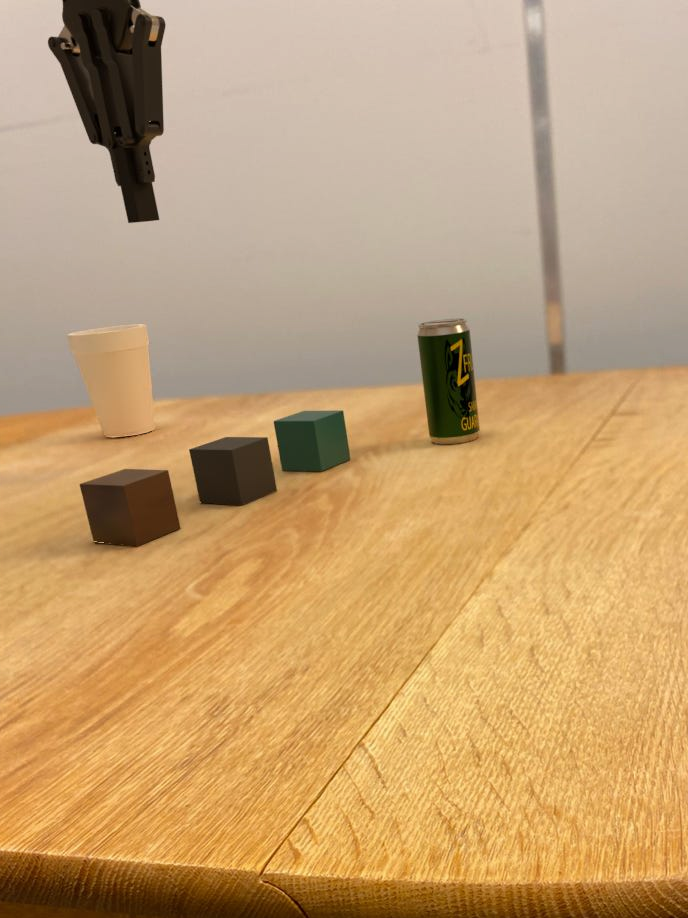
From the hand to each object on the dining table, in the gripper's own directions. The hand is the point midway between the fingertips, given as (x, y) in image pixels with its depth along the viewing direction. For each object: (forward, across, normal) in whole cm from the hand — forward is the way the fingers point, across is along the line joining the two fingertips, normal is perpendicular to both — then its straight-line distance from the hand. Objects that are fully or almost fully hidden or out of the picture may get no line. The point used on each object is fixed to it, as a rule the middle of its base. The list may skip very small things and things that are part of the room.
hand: (144, 221), depth 103 cm
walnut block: (+24, +14, -22) cm, 36 cm away
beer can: (+25, +24, +14) cm, 37 cm away
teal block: (+24, +15, +2) cm, 29 cm away
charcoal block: (+24, +15, -10) cm, 30 cm away
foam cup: (+25, -26, +16) cm, 39 cm away
